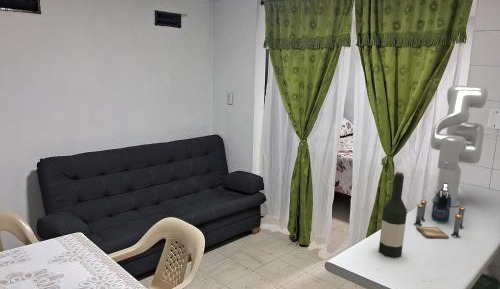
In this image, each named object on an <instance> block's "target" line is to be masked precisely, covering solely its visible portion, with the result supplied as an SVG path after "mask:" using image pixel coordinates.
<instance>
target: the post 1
mask: <svg viewBox="0 0 500 289" xmlns="http://www.w3.org/2000/svg"><path fill="white" fill-rule="evenodd" d="M416 206H417V209H416V216H415V222H414V223H413V225H414V226H415V227H423V226H422V222H421V216H422V209H423V205H421V203H418V204H417V205H416Z"/></svg>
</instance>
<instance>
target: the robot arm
mask: <svg viewBox="0 0 500 289" xmlns="http://www.w3.org/2000/svg"><path fill="white" fill-rule="evenodd" d="M446 92H447V94H446V99H447V105H448V109H447V113H446V115H445V116H444V117H441V119H439V120H438V122H436V124H435V125H434V127H433V128H432V129H433V130H432V134H431V139H430V147H431V149H432V150H435V151H439V154H438V161H437V169H439V172H438V177H437V183H436V190H435V191H434V194H436V193H440V197H439V203H438V206H443V207H446V206H447V200H448V198H447V196H448V194H449V195H450V197H451V206H450V208H453V207H454V208H455V207H460V204H461V203H460V201H459V200H458V193H459V188H460V180H461V175H462V170H461V167H460V165H459V164H458V163H465V164H466V163H467V164H471V165H472V164H473V165H475V164H478V163H479V162H480V161H481V157H482V149H483V143H484V137H485V136H484V134H485V128H484V126H483V124H480V123H477V122H469V119H470V118H469V117H470V111H469V110H470V109H471V108H472V109H473V108H474V109H475V108H476V109H482V108H484V107H485V105H486V103H487V99H488V93H489V92H488V89H487V87H484V86H474V85H473V86H471V85H453V86H450V87H449V88H448V89H447V91H446ZM446 128H447V130H446V133H445V134H444V133H441V131H443V130H444V129H446ZM431 201H432V202H434V196H433V197H432V198H431Z"/></svg>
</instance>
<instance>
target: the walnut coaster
mask: <svg viewBox="0 0 500 289" xmlns="http://www.w3.org/2000/svg"><path fill="white" fill-rule="evenodd" d="M415 228H416V229H415V230H417V231H418V232H419V234H421V235H422V236H423V237H424V238H425V239H432V240H433V239H435V240H436V239H437V240H438V239H439V240H448V239H449V238H450V236H449V235H448V234H446V233H445V232H444V231H443V230H442V229H440V228H439V227H438V226H415Z"/></svg>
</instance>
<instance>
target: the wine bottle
mask: <svg viewBox="0 0 500 289" xmlns="http://www.w3.org/2000/svg"><path fill="white" fill-rule="evenodd" d="M404 179H405V174H404V172H400V171H397V172H395V174H394V177H393V184H392V193H391V197H389V199H388V201H387V202H386V203H385V204H384V205H383V210H382V217H381V218H382V220H381V229H380V237H379V246H378V253H379V254H380V255H383V256H384V257H385V258H392V259H396V258H401V257H402V256H403V255H402V254H403V245H404V238H405V229H406V223H407V214H408V209H407V207H406V205H405V203H404V201H403V199H402V197H403V196H402V195H403V189H404V187H403V186H404Z"/></svg>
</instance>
